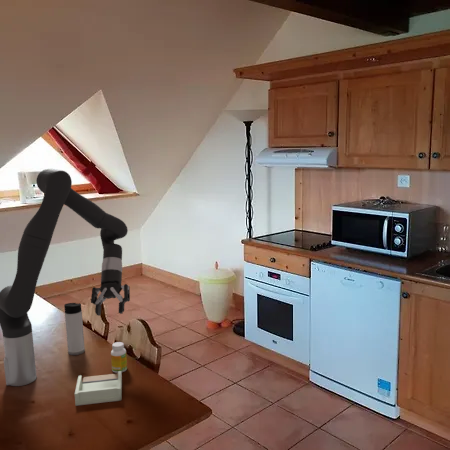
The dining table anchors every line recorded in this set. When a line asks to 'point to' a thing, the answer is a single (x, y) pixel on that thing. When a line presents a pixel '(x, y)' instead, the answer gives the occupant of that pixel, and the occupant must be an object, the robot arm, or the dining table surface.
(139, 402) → the dining table surface
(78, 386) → the tray
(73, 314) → the travel mug
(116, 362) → the supplement bottle
